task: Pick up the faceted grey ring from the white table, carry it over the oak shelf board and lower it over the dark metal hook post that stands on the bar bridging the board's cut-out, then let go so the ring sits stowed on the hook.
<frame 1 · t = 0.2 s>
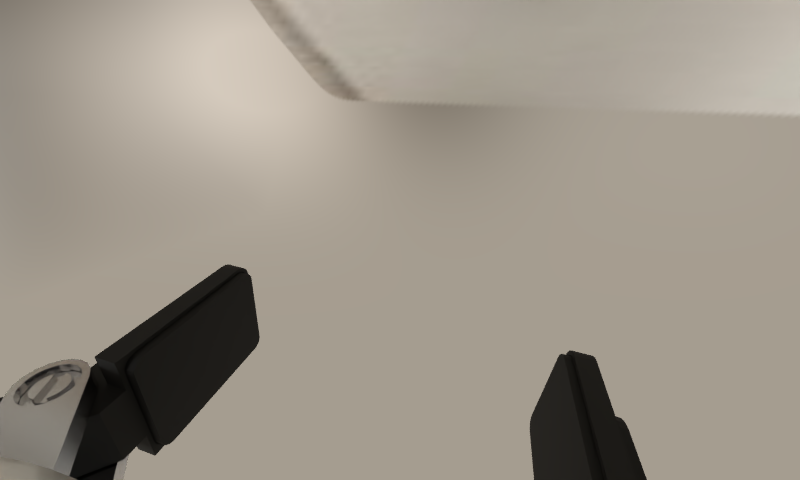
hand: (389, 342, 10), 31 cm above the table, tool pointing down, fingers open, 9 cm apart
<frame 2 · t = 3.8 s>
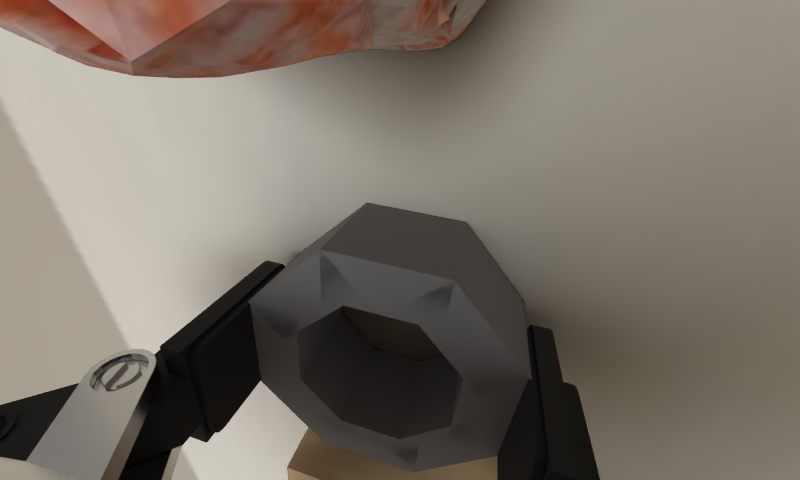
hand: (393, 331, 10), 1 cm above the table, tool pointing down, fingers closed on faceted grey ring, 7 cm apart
faceted grey ring: (402, 309, 11), on the table, touching gripper
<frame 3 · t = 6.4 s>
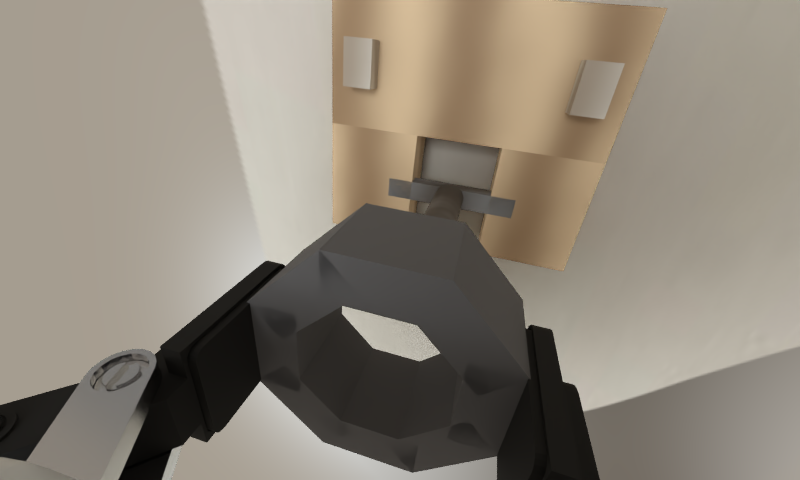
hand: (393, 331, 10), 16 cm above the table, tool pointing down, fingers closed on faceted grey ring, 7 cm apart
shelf: (463, 133, 22), on the table
faceted grey ring: (402, 309, 11), point 14 cm above the table, touching gripper
when the fingers open (5 cm above the table, at t = 9.1 s): faceted grey ring drops 1 cm, resting on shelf.
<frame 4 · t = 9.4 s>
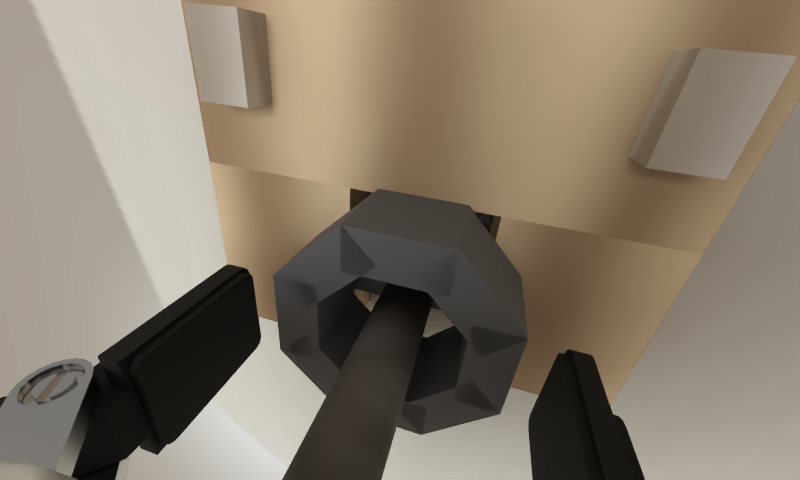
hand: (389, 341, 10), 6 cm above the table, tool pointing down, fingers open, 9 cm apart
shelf: (437, 176, 13), on the table
faceted grey ring: (410, 287, 12), point 3 cm above the table, touching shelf
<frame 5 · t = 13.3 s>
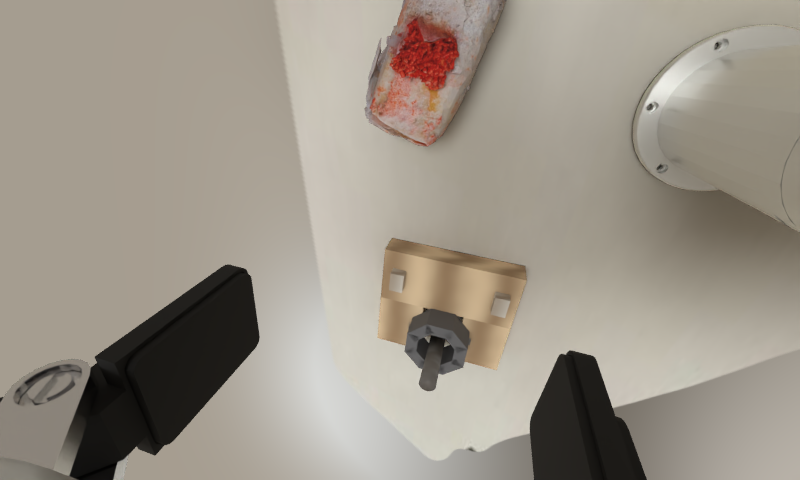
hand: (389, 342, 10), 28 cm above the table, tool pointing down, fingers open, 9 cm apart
food item: (440, 57, 32), on the table
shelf: (446, 298, 43), on the table
faceted grey ring: (439, 333, 42), point 3 cm above the table, touching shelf
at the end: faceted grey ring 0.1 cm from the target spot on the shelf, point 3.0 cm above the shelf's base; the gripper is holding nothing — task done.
